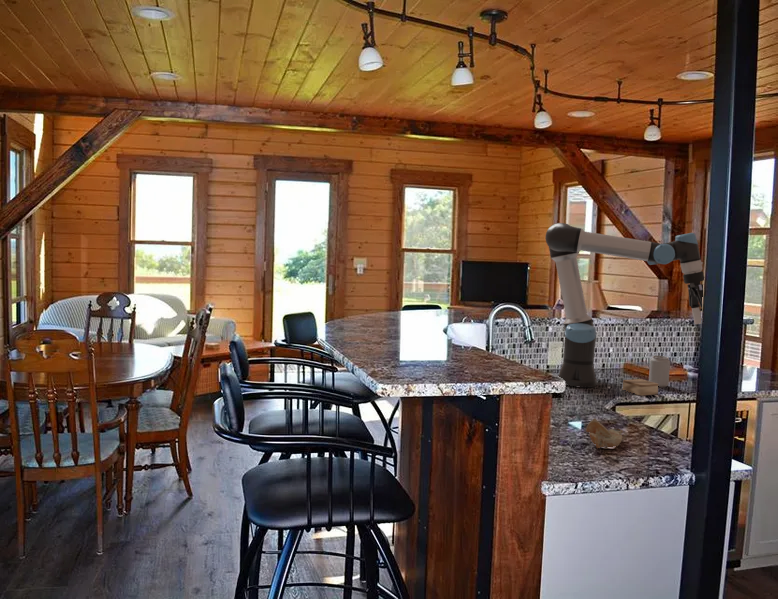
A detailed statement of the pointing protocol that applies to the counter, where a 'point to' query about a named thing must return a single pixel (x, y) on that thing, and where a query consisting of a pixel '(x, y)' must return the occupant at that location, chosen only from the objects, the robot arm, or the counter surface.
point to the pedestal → (640, 387)
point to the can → (659, 370)
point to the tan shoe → (603, 435)
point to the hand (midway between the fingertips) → (703, 325)
